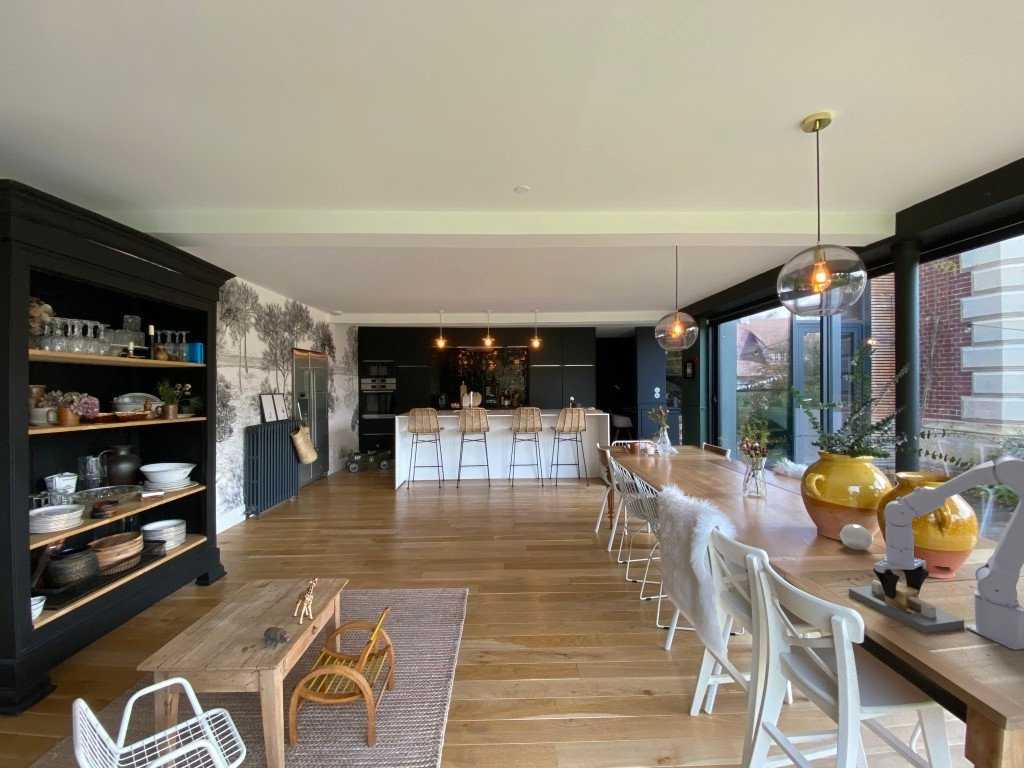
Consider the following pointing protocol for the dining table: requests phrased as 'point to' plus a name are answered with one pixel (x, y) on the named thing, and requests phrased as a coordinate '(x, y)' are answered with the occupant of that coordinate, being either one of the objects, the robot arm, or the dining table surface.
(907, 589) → the ochre u-shaped block
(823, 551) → the dining table surface
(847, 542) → the white egg shape
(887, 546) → the robot arm
